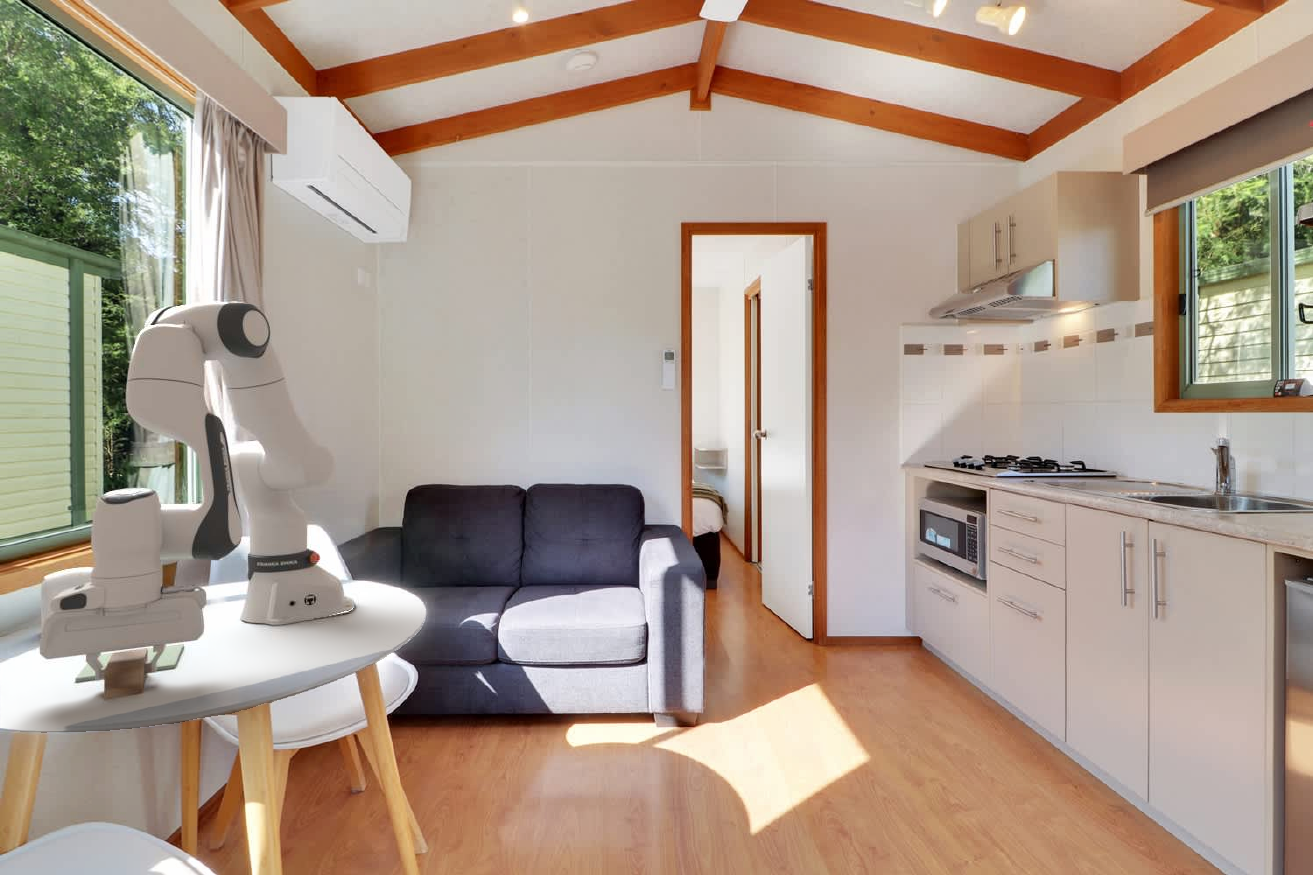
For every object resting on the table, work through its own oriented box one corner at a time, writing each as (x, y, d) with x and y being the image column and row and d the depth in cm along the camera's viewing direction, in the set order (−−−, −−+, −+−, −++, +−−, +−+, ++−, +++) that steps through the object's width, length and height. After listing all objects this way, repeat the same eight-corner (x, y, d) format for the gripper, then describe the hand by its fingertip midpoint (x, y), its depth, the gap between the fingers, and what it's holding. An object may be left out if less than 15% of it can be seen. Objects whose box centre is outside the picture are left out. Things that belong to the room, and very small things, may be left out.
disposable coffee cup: (155, 598, 153) (155, 549, 153) (190, 600, 152) (190, 550, 152) (116, 609, 144) (117, 556, 144) (153, 611, 143) (153, 558, 143)
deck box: (147, 674, 107) (147, 647, 107) (141, 692, 100) (142, 664, 100) (112, 679, 104) (112, 652, 104) (104, 699, 97) (104, 670, 97)
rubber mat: (183, 646, 120) (183, 643, 120) (174, 667, 110) (174, 664, 110) (93, 658, 114) (93, 655, 114) (75, 681, 103) (75, 678, 103)
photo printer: (42, 636, 125) (42, 574, 125) (39, 631, 128) (39, 570, 128) (110, 624, 133) (110, 566, 133) (106, 620, 136) (106, 563, 136)
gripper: (208, 579, 110) (207, 658, 110) (49, 593, 99) (48, 680, 100) (204, 587, 105) (203, 670, 105) (36, 602, 94) (35, 695, 94)
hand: (126, 675), depth 102 cm, fingers closed on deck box, 5 cm apart
